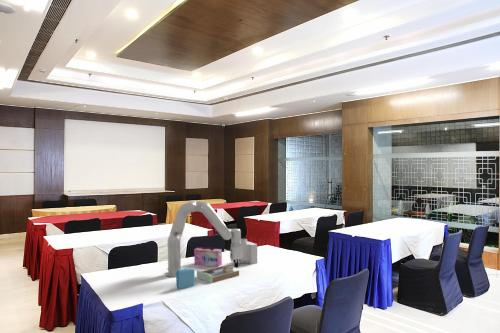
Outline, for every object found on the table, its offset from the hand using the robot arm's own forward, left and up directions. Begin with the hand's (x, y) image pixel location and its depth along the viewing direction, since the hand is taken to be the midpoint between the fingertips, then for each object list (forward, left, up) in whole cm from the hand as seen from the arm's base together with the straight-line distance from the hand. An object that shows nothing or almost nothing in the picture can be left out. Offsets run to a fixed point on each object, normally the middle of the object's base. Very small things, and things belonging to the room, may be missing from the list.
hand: (236, 267), depth 278 cm
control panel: (-16, +20, -3) cm, 26 cm away
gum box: (-31, -6, -3) cm, 32 cm away
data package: (+3, -49, -3) cm, 49 cm away
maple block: (0, -9, -1) cm, 9 cm away
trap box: (0, -18, -3) cm, 18 cm away
